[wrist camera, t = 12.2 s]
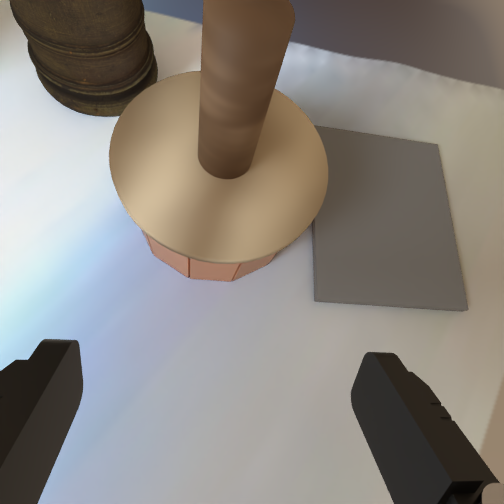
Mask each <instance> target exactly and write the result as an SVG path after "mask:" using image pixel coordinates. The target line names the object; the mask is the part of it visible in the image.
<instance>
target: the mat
mask: <svg viewBox="0 0 504 504" xmlns="http://www.w3.org/2000/svg"><path fill="white" fill-rule="evenodd" d="M314 127H315V129H316V130H317V132H318V134H319V136H320V138H321V141H322V143H323V146H324V149H325V153H326V156H327V163H328V185H327V191H326V195H325V198H324V201H323V204H322V206H321V208H320V210H319V212H318V214H317V215H316V217H315V218H314V219H313V221H312V235H313V266H314V297H315V302H330V303H345V304H360V305H375V306H390V307H405V308H420V309H435V310H450V311H467V310H468V305H467V299H466V294H465V289H464V283H463V278H462V273H461V267H460V262H459V256H458V251H457V246H456V240H455V235H454V230H453V224H452V219H451V214H450V208H449V203H448V197H447V192H446V187H445V181H444V176H443V171H442V165H441V160H440V155H439V149H438V145H437V144H430V143H424V142H417V141H411V140H405V139H398V138H392V137H385V136H379V135H373V134H366V133H360V132H353V131H347V130H340V129H334V128H328V127H321V126H315V125H314Z"/></svg>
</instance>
